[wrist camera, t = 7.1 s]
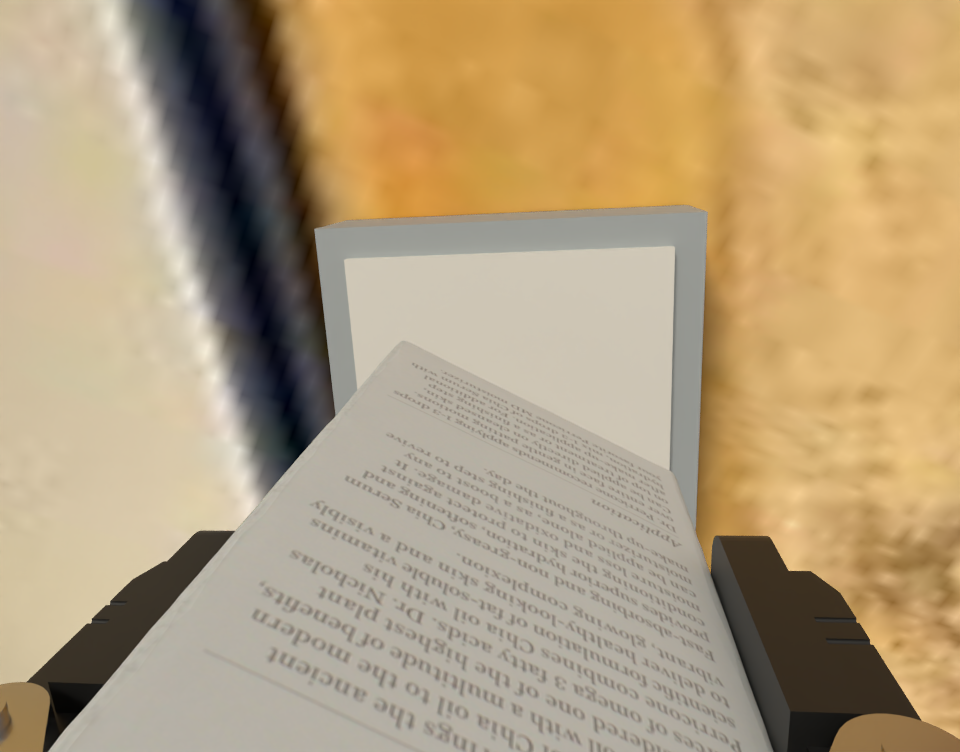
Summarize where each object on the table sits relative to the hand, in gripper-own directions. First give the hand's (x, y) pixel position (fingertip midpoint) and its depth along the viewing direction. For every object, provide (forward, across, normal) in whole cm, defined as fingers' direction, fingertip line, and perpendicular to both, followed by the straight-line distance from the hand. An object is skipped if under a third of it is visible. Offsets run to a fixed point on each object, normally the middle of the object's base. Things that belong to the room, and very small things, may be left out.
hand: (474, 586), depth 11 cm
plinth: (+12, 0, 0) cm, 12 cm away
